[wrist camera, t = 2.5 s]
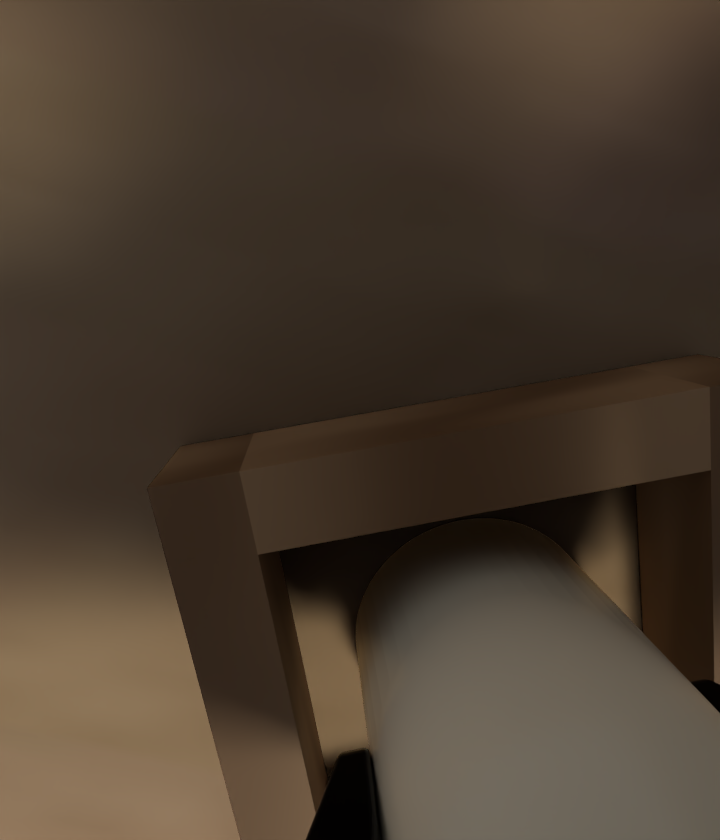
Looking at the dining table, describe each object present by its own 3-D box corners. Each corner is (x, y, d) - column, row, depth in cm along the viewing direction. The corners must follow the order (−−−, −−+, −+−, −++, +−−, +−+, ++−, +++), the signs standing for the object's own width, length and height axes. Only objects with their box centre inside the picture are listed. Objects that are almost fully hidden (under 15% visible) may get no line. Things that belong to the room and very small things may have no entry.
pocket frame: (697, 354, 10) (794, 371, 8) (707, 775, 12) (783, 870, 10) (180, 446, 9) (146, 488, 7) (283, 864, 12) (278, 982, 10)
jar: (585, 491, 10) (1454, 1138, 2) (601, 709, 11) (1238, 1634, 4) (329, 538, 10) (398, 1412, 2) (370, 756, 11) (511, 1850, 3)
